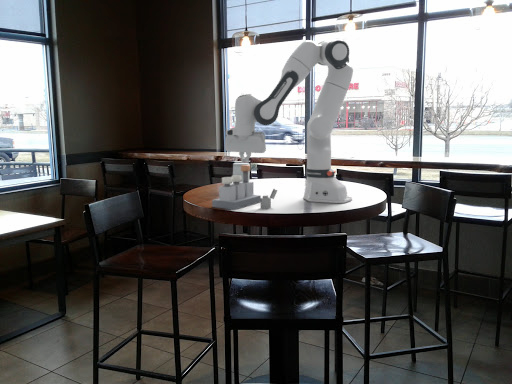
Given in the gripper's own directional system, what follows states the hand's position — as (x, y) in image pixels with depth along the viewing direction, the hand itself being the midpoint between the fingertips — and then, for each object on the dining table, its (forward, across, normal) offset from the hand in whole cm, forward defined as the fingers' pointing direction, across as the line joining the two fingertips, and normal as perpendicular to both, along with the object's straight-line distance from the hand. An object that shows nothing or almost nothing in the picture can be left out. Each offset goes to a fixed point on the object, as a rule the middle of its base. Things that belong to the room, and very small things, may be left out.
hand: (245, 162), depth 200 cm
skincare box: (+18, +20, -25) cm, 37 cm away
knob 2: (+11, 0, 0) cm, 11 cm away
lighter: (+18, -16, +6) cm, 25 cm away
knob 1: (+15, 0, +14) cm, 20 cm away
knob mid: (+15, 0, +7) cm, 16 cm away
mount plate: (+18, 0, +7) cm, 19 cm away
